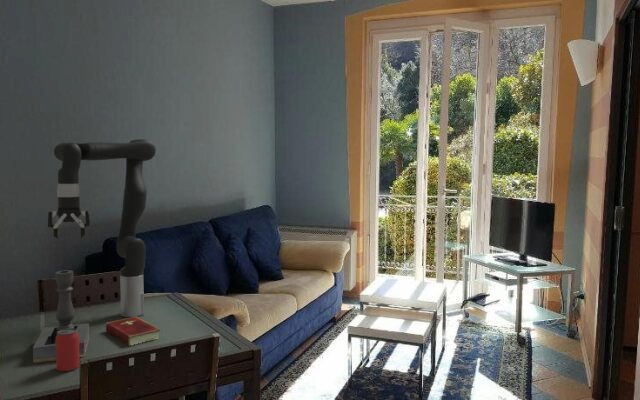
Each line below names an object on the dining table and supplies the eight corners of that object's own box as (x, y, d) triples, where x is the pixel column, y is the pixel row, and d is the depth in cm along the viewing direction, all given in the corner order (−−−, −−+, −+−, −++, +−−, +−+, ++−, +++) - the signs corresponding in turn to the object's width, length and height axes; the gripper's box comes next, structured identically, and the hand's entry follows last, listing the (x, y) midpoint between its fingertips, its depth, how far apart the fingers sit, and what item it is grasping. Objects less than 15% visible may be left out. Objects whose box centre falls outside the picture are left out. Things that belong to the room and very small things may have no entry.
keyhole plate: (89, 336, 185) (89, 323, 185) (84, 357, 166) (84, 342, 165) (44, 340, 180) (43, 327, 180) (33, 362, 161) (32, 347, 160)
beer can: (61, 364, 160) (60, 327, 159) (82, 363, 160) (82, 327, 160) (52, 372, 153) (51, 334, 152) (74, 372, 154) (73, 334, 153)
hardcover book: (128, 347, 176) (128, 336, 176) (105, 332, 191) (105, 322, 191) (160, 339, 184) (160, 328, 184) (136, 326, 199) (136, 315, 199)
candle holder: (67, 344, 174) (65, 274, 173) (52, 342, 176) (50, 273, 174) (79, 338, 180) (77, 270, 179) (64, 336, 182) (62, 269, 180)
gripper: (90, 194, 194) (90, 235, 196) (49, 195, 189) (50, 237, 191) (88, 196, 187) (89, 238, 189) (45, 196, 182) (47, 240, 184)
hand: (69, 237), depth 190 cm, fingers open, 8 cm apart
